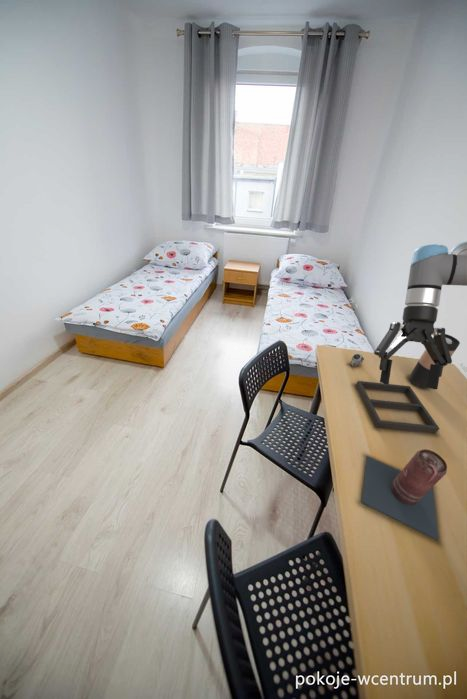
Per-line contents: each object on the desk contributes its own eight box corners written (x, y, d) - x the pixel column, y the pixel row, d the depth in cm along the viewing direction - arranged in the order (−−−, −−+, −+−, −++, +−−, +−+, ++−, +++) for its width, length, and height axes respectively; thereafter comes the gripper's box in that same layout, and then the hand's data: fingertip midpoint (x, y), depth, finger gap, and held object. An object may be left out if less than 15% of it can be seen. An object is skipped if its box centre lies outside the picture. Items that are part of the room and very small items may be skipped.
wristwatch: (346, 363, 110) (351, 353, 107) (357, 360, 113) (362, 350, 110) (353, 369, 108) (358, 359, 105) (364, 365, 111) (369, 355, 108)
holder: (406, 391, 100) (409, 386, 99) (435, 433, 85) (439, 428, 84) (355, 385, 100) (357, 380, 98) (375, 427, 84) (378, 422, 83)
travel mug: (412, 373, 110) (439, 330, 98) (432, 384, 105) (463, 340, 94) (404, 380, 106) (431, 336, 94) (425, 392, 101) (456, 347, 90)
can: (394, 504, 65) (424, 471, 57) (387, 478, 70) (413, 445, 62) (421, 509, 65) (455, 477, 57) (411, 483, 70) (441, 450, 62)
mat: (431, 486, 71) (432, 485, 70) (437, 540, 60) (438, 539, 60) (366, 457, 76) (367, 456, 75) (361, 502, 65) (362, 501, 65)
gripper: (453, 313, 78) (440, 387, 79) (367, 302, 76) (356, 378, 77) (478, 311, 70) (463, 393, 72) (384, 299, 68) (371, 383, 70)
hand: (408, 385), depth 74 cm, fingers open, 13 cm apart
